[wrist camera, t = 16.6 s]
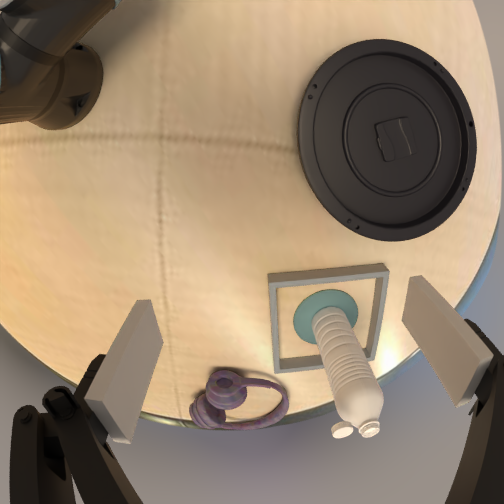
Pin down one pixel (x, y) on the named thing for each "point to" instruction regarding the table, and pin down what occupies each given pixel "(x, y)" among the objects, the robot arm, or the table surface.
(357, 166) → the round tray
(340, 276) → the teal-dotted square tray
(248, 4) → the table surface
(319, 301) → the teal round pad
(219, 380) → the headphones
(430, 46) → the table surface
